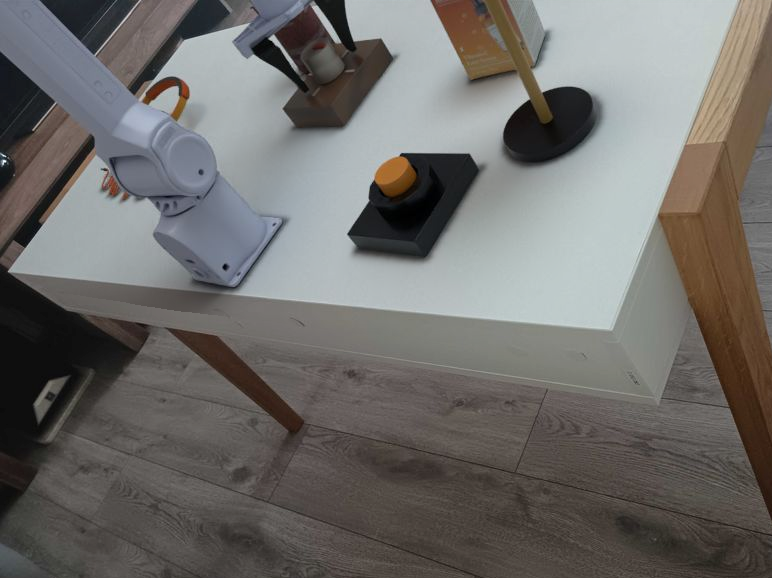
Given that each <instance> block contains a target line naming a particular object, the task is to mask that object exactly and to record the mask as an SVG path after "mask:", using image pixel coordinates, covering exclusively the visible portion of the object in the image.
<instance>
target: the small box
mask: <svg viewBox="0 0 772 578" xmlns="http://www.w3.org/2000/svg"><path fill="white" fill-rule="evenodd" d="M429 1H430V3H431V5H432V7H433V8H434V11H435V13H436V15H437V17H438V19H439V21H440V24H441V25H442V27H443V29H444V31H445V32H446V35H447V37H448V39H449V41H450V43H451V45H452V47H453V49H454V51H455V52H456V55H457V57H458V59H459V61H460V62H461V65H462V66H463V69H464V70H465V72H466V74H467V76H468V79H469V80H471V81H472V80H476V79H479V78H484V77H488V76H491V75H492V76H493V75H496V74H502V73H506V72H510V71H517V70H516V68H515V66H514V64H513V62H512V60H511V57H510V55H509V53H508V51H507V49H506V47H505V45H504V43H503V40H502V38H501V36H500V34H499V32H498V30H497V28H496V26H495V23H494V21H493V19H492V17H491V15H490V13H489V11H488V8H487V6H486V4H485V2H484V0H429ZM500 1H501V3H502V6H503V8H504V10H505V12H506V14H507V17H508V19H509V21H510V23H511V25H512V28H513V30H514V32H515V34H516V37H517V39H518V41H519V43H520V45H521V48H522V50H523V52H524V54H525V56H526V59H527V61H528V63H529V65H530V67H531V68H532V67H535V65H536V63H537V60H538V58H539V57H538V56H539V53H540V50H541V49H542V45H543V42H544V39H545V36H546V30H545V28H544V25H543V23H542V21H541V18H540V15H539V13H538V10H537V8H536V5H535V3H534V1H533V0H500Z"/></svg>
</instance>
